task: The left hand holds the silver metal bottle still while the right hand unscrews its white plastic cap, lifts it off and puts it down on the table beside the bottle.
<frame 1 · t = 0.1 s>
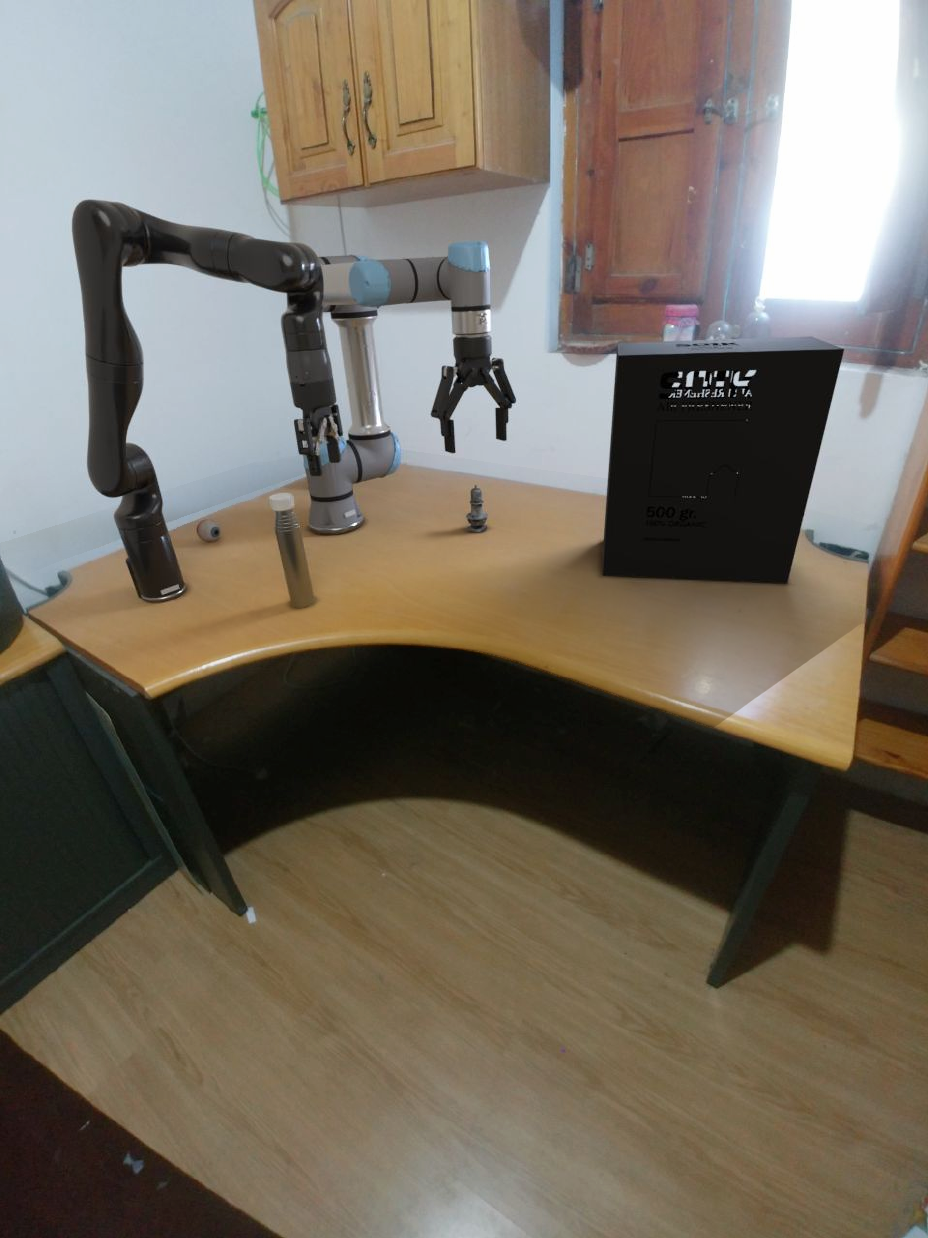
left hand: (326, 468, 113), 29 cm above the table, tool pointing down, fingers open, 8 cm apart
right hand: (476, 445, 127), 28 cm above the table, tool pointing down, fingers open, 13 cm apart
bottle: (303, 602, 130), on the table
eyeball: (212, 541, 164), on the table
cap: (281, 497, 118), point 23 cm above the table, screwed on, not yet turned
black rectangular box: (687, 560, 138), on the table
grey upright piece: (477, 528, 162), on the table
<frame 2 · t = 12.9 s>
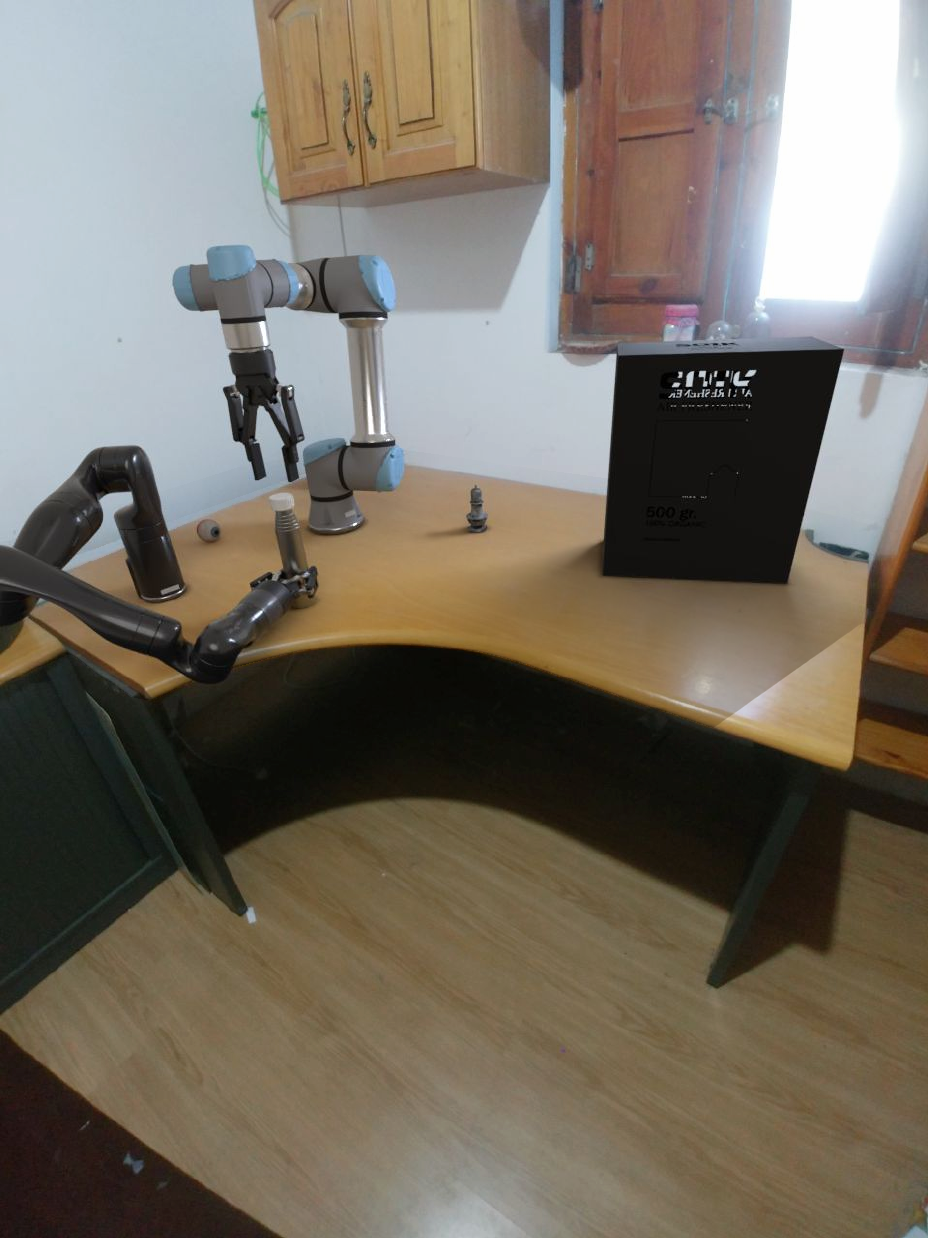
left hand: (302, 569, 129), 7 cm above the table, tool horizontal, fingers closed on bottle, 5 cm apart
right hand: (277, 478, 116), 27 cm above the table, tool pointing down, fingers open, 7 cm apart
bottle: (303, 602, 130), on the table, touching left hand
everything else where it was.
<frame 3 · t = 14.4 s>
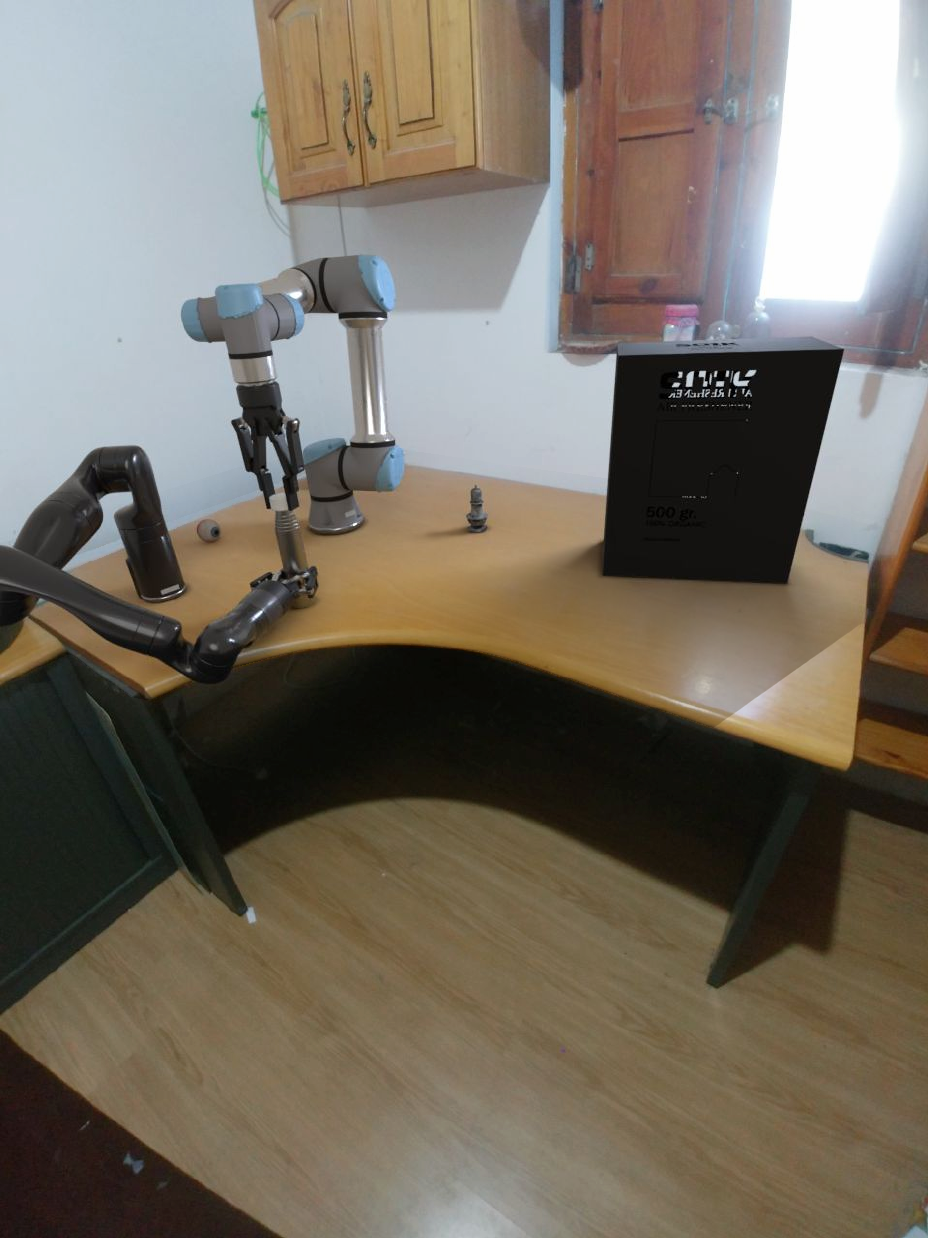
left hand: (302, 569, 129), 7 cm above the table, tool horizontal, fingers closed on bottle, 5 cm apart
right hand: (283, 507, 119), 21 cm above the table, tool pointing down, fingers closed on cap, 4 cm apart
bottle: (303, 602, 130), on the table, touching left hand
cap: (281, 497, 118), point 23 cm above the table, screwed on, not yet turned, touching right hand
everything else where it was.
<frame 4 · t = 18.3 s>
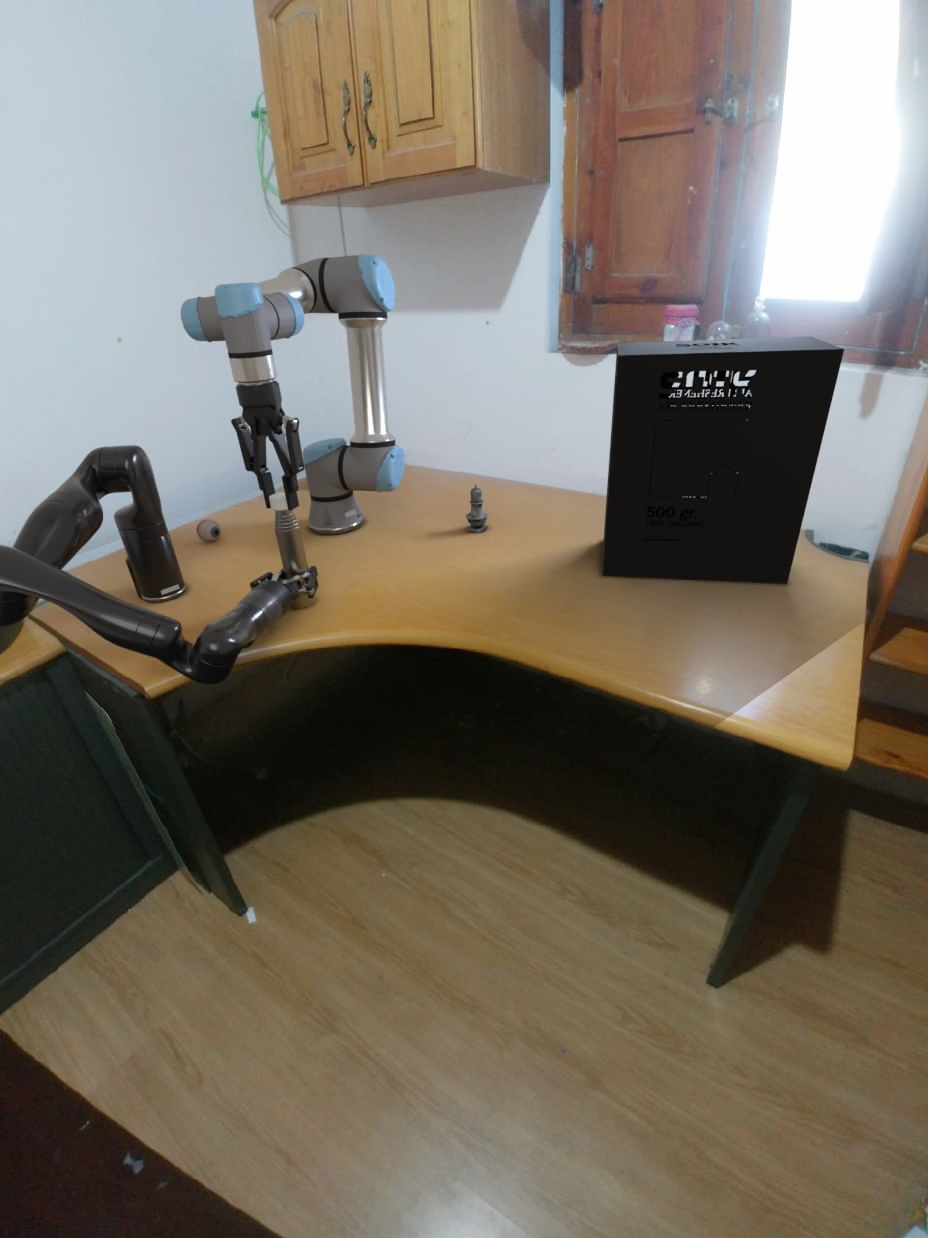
left hand: (302, 569, 129), 7 cm above the table, tool horizontal, fingers closed on bottle, 5 cm apart
right hand: (282, 506, 119), 22 cm above the table, tool pointing down, fingers closed on cap, 4 cm apart
bottle: (303, 602, 130), on the table, touching left hand
cap: (280, 497, 118), point 24 cm above the table, turned 130° so far, risen 0.1 cm, still on its thread, touching right hand
everything else where it was.
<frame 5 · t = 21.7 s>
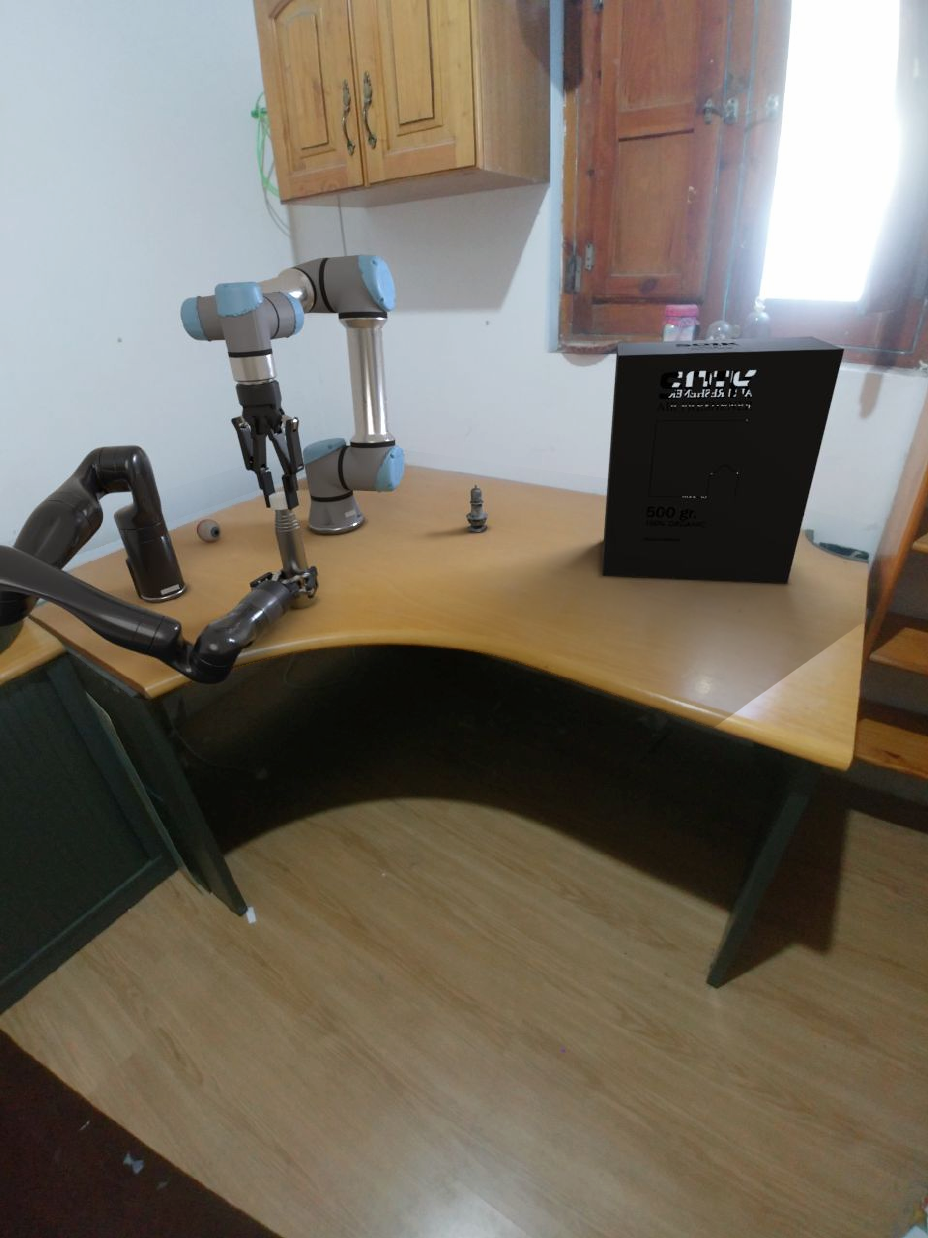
left hand: (302, 569, 129), 7 cm above the table, tool horizontal, fingers closed on bottle, 5 cm apart
right hand: (282, 506, 119), 22 cm above the table, tool pointing down, fingers closed on cap, 4 cm apart
bottle: (303, 602, 130), on the table, touching left hand
cap: (280, 496, 118), point 24 cm above the table, turned 260° so far, risen 0.2 cm, still on its thread, touching right hand
everything else where it was.
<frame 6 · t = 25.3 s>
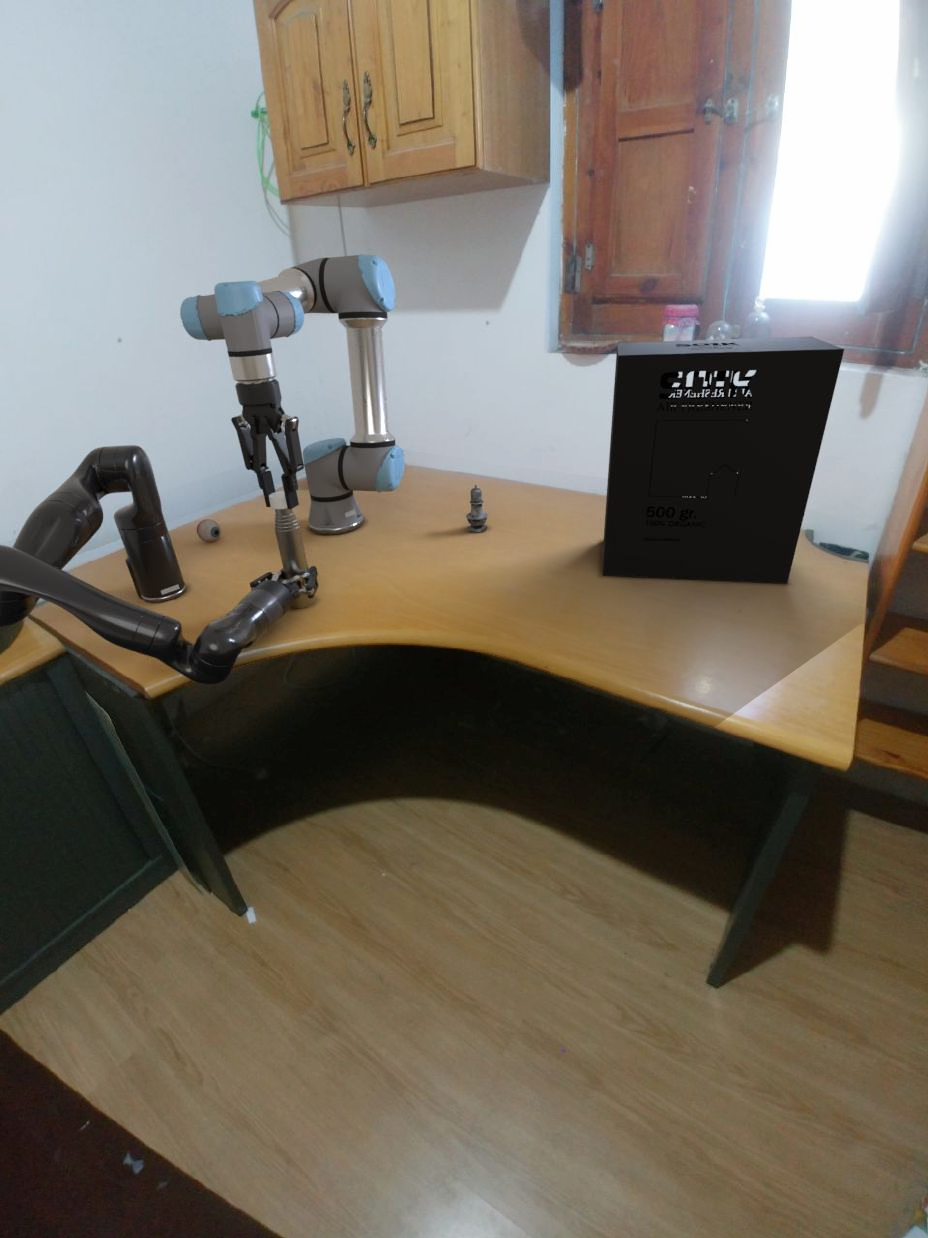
left hand: (302, 569, 129), 7 cm above the table, tool horizontal, fingers closed on bottle, 5 cm apart
right hand: (282, 505, 119), 22 cm above the table, tool pointing down, fingers closed on cap, 4 cm apart
bottle: (303, 602, 130), on the table, touching left hand
cap: (280, 495, 118), point 24 cm above the table, turned 390° so far, risen 0.4 cm, still on its thread, touching right hand
everything else where it was.
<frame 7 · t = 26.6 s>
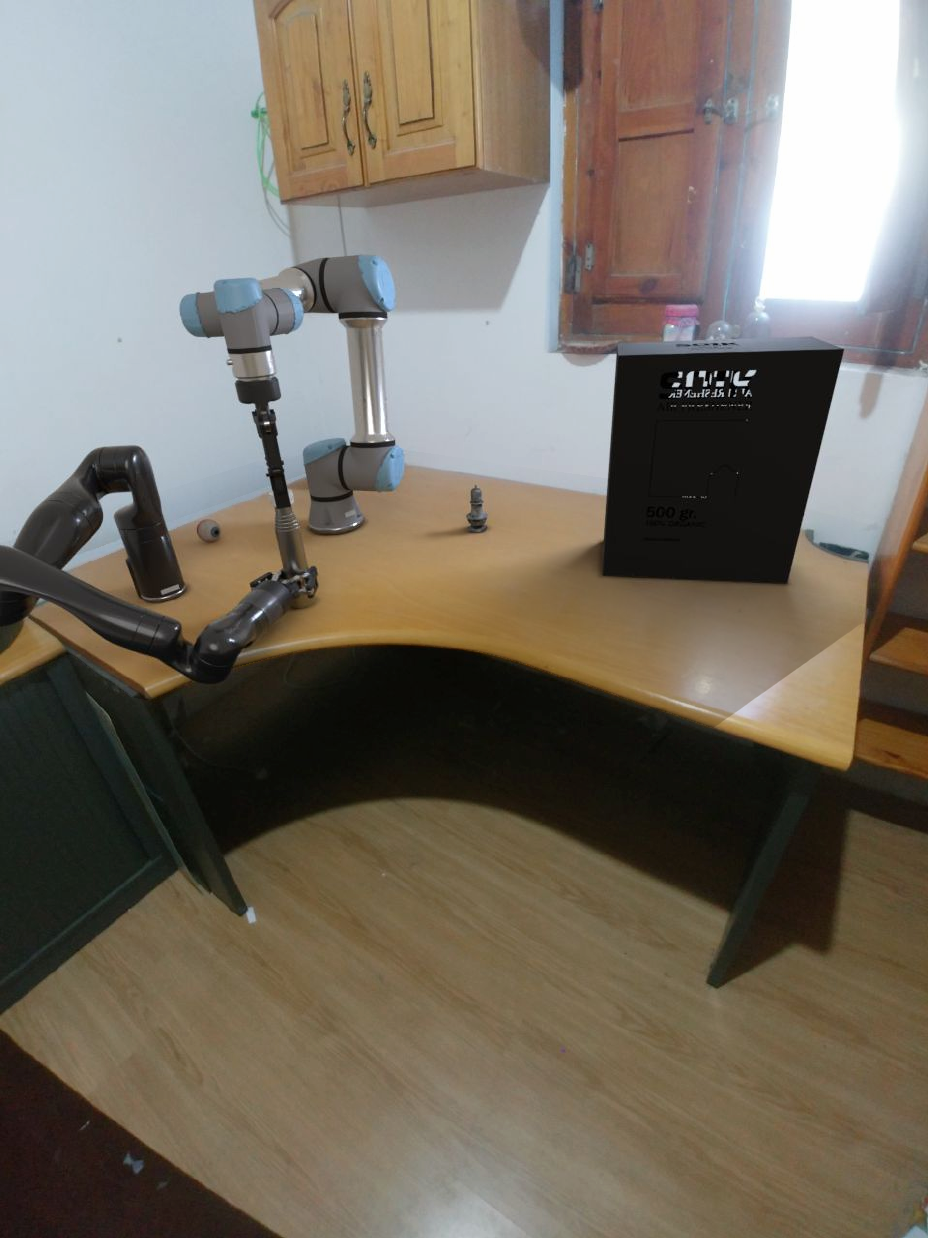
left hand: (302, 569, 129), 7 cm above the table, tool horizontal, fingers closed on bottle, 5 cm apart
right hand: (282, 503, 119), 22 cm above the table, tool pointing down, fingers closed on cap, 4 cm apart
bottle: (303, 602, 130), on the table, touching left hand
cap: (280, 493, 118), point 24 cm above the table, off its thread, touching right hand
everything else where it was.
when the right hand's fingers open (1 cm above the table, at t = 32.6 s): cap drops 1 cm, point 2 cm above the table.
when the left hand's fingers open (7 cm above the table, at t = 33.9 s): bottle stays where it is, on the table.
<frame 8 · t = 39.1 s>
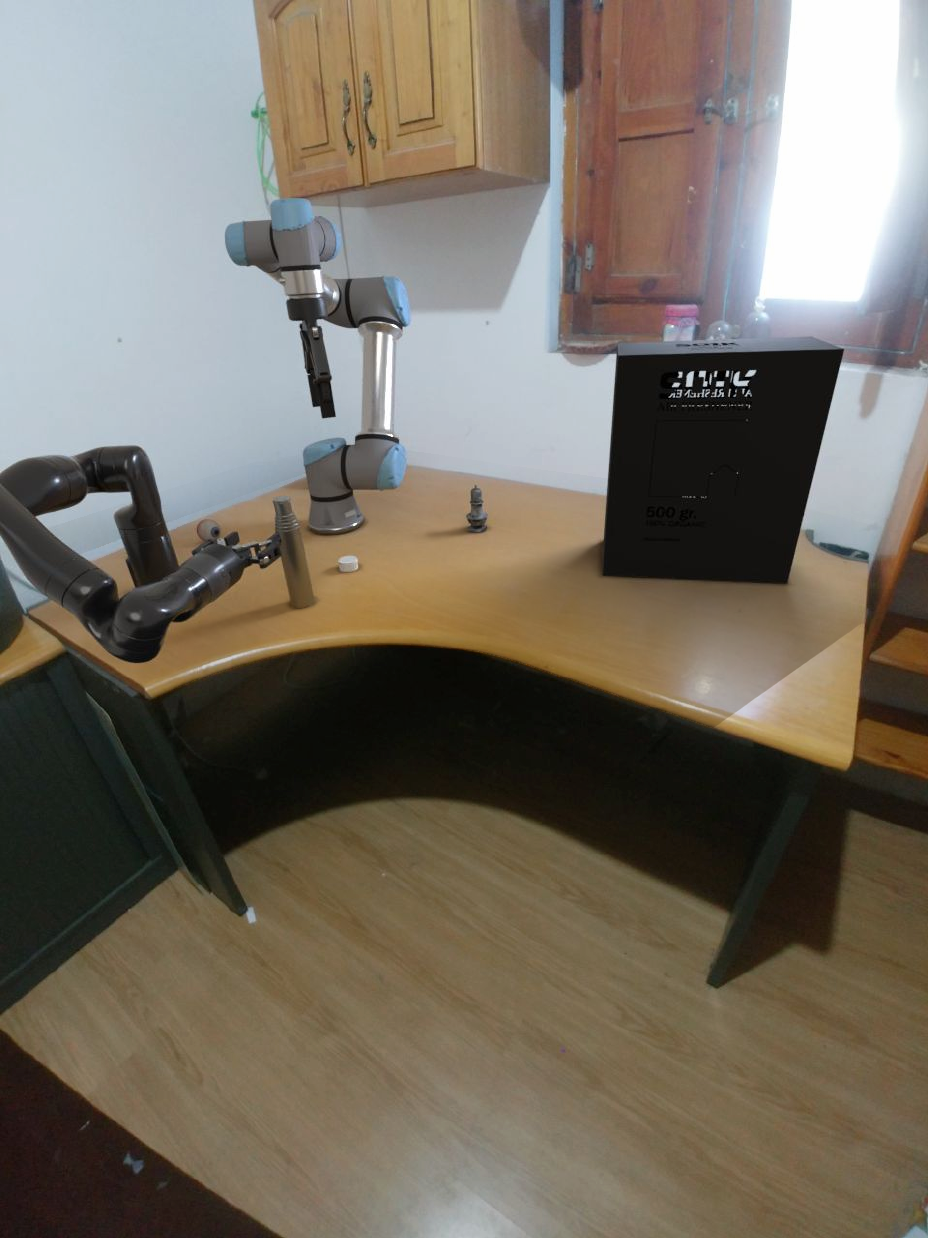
left hand: (258, 537, 111), 20 cm above the table, tool horizontal, fingers open, 8 cm apart
right hand: (323, 411, 126), 36 cm above the table, tool pointing down, fingers open, 13 cm apart
bottle: (303, 602, 130), on the table
cap: (347, 560, 143), point 2 cm above the table, off its thread
everything else where it was.
at the end: cap came off its thread; cap point 2.0 cm above the table; the left hand is holding nothing; the right hand is holding nothing; bottle tilted 0°; bottle moved 0.0 cm from its start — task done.
